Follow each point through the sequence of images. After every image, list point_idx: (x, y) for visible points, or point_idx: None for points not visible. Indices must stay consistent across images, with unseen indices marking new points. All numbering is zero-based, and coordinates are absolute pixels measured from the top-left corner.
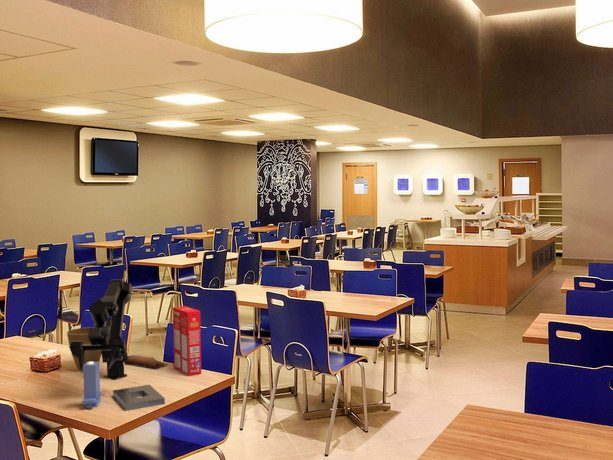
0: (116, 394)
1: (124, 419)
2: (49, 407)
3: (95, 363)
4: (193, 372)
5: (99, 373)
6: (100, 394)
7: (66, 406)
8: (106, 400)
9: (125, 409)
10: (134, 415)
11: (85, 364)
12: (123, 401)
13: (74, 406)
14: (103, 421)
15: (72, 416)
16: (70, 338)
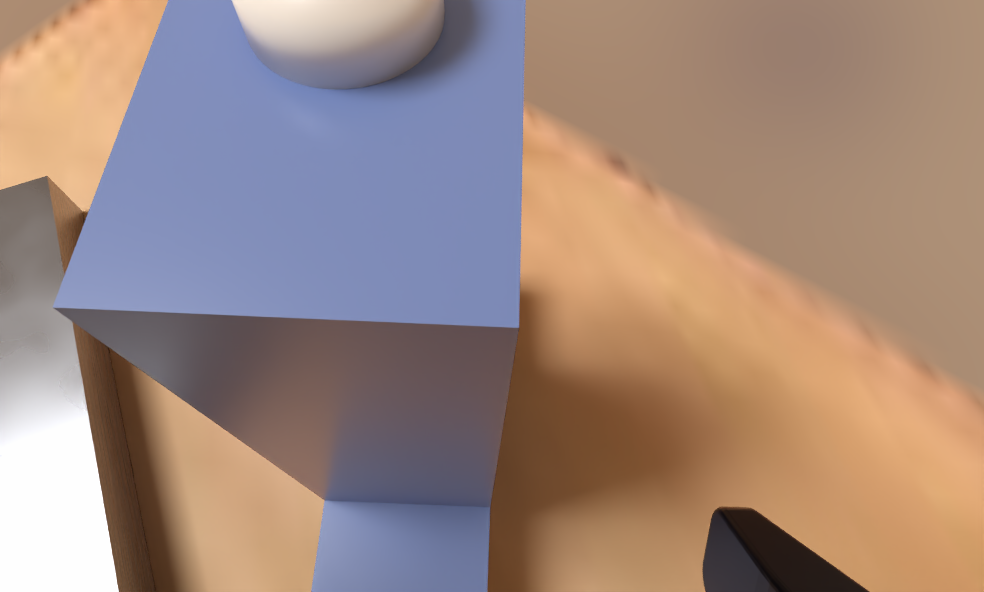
0: (114, 563)
1: (114, 39)
2: (865, 405)
3: (194, 101)
4: None
5: (223, 420)
6: (326, 524)
7: (694, 413)
8: (278, 579)
9: (79, 217)
10: (25, 100)
11: (493, 43)
12: (56, 268)
13: (607, 401)
14: None
15: (536, 144)
16: None
